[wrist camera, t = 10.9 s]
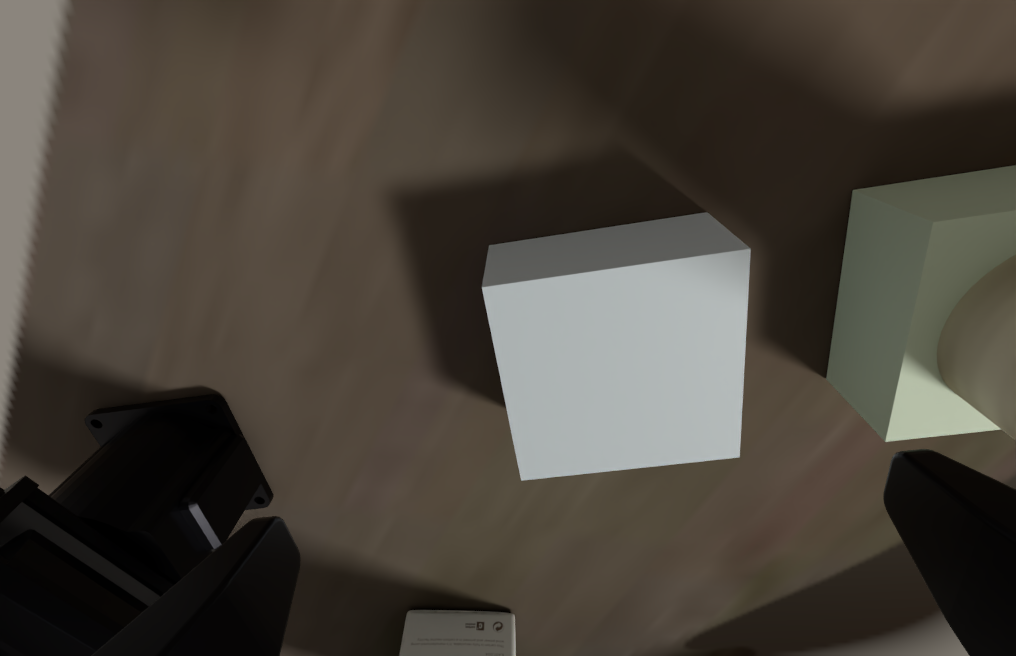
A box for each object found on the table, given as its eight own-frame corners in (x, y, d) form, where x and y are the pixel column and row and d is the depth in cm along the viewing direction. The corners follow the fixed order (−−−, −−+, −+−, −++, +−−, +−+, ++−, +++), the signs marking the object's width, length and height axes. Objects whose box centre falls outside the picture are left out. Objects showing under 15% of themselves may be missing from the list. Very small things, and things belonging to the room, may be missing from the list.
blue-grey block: (521, 415, 23) (521, 480, 20) (488, 245, 19) (481, 287, 16) (705, 393, 22) (739, 457, 19) (707, 212, 19) (750, 248, 15)
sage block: (826, 379, 22) (885, 441, 18) (852, 190, 18) (933, 222, 15) (1031, 354, 21) (1134, 414, 17) (1102, 151, 17) (1251, 176, 14)
